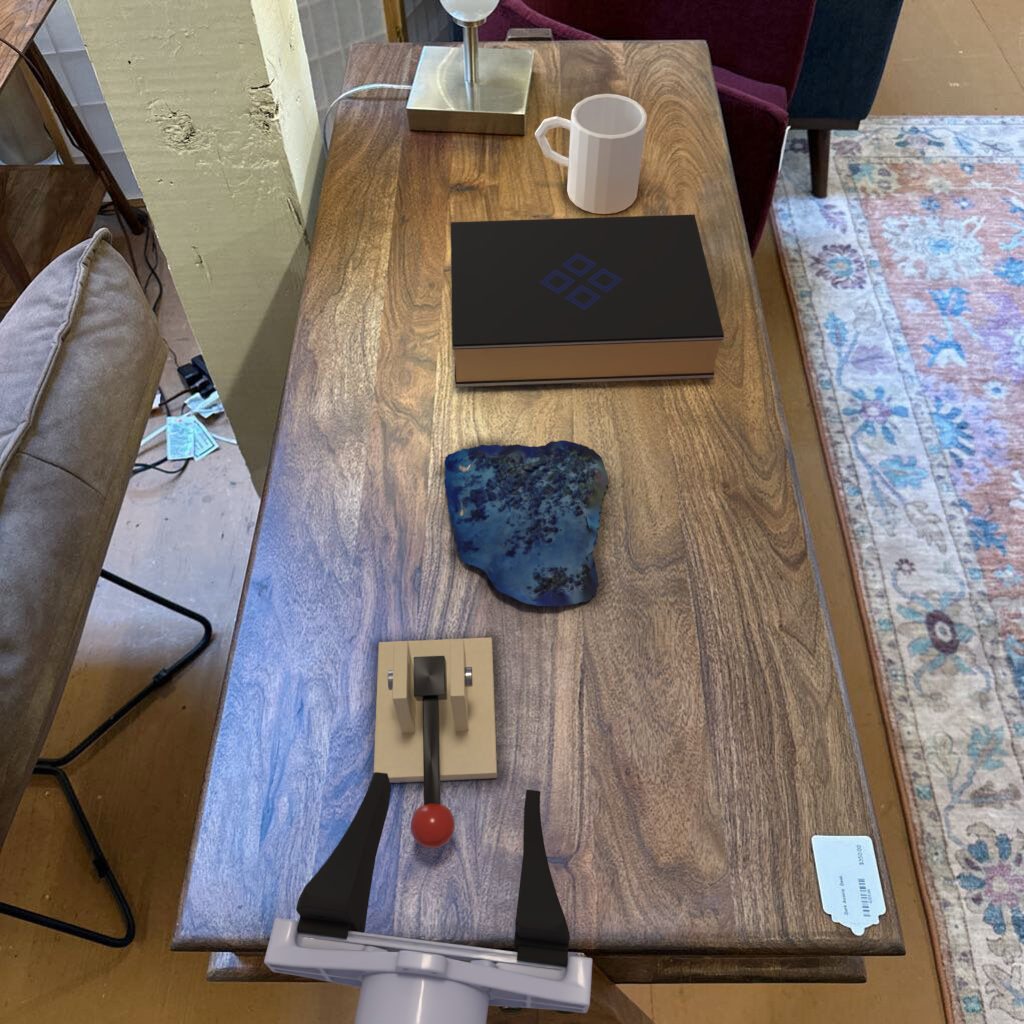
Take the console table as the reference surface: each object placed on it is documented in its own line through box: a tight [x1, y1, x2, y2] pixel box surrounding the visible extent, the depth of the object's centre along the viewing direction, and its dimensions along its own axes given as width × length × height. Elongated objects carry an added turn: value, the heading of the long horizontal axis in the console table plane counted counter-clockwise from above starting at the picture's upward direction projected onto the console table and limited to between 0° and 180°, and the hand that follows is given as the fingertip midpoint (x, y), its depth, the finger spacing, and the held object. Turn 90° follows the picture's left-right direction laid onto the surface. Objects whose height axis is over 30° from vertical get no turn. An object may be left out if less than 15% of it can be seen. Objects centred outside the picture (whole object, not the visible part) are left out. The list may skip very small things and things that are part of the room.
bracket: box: [373, 637, 498, 784], centre depth 68 cm, size 11×9×8 cm
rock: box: [443, 439, 610, 608], centre depth 80 cm, size 15×17×2 cm
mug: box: [534, 93, 648, 215], centre depth 103 cm, size 8×12×10 cm
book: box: [450, 214, 725, 389], centre depth 92 cm, size 17×25×7 cm
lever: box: [410, 656, 456, 850], centre depth 65 cm, size 13×3×3 cm, turn 3°
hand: (457, 788), depth 47 cm, fingers open, 7 cm apart
